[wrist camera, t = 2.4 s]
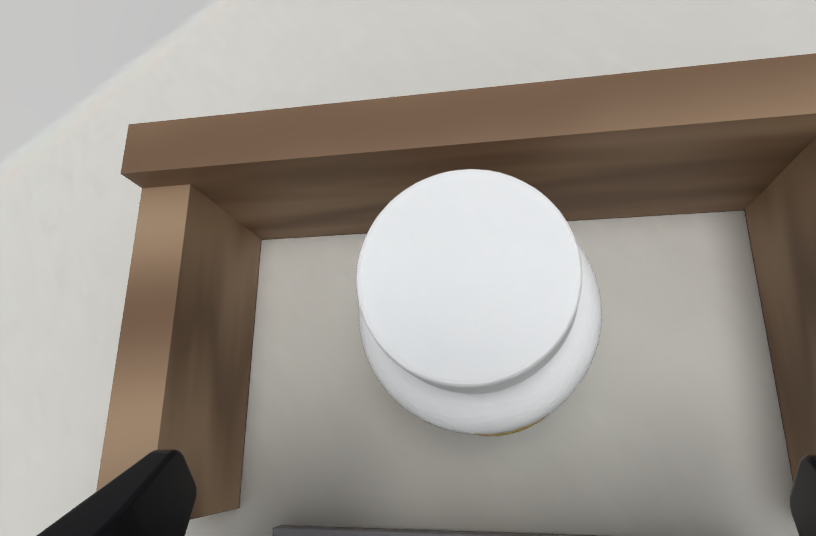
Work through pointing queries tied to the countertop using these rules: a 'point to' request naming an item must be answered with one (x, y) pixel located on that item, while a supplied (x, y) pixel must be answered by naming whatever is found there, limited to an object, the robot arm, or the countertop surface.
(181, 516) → the robot arm
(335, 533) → the mat
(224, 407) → the brown walled open frame
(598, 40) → the countertop surface
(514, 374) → the supplement bottle
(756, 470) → the countertop surface
